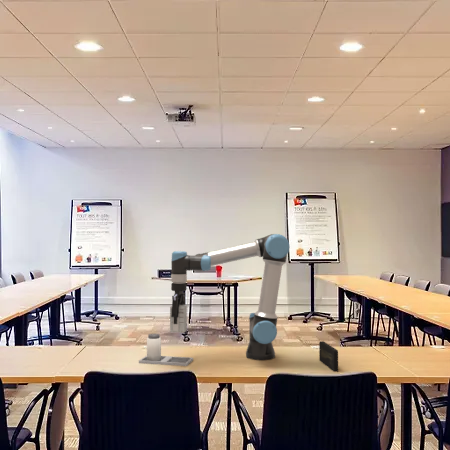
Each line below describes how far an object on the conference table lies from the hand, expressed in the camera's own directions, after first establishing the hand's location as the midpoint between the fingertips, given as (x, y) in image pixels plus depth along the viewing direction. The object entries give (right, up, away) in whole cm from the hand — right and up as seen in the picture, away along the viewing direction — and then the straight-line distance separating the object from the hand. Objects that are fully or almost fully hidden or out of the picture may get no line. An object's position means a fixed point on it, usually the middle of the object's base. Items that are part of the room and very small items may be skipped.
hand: (178, 328), depth 251 cm
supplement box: (0, -1, 0) cm, 1 cm away
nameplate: (+73, -18, -2) cm, 76 cm away
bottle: (-13, -16, +3) cm, 21 cm away
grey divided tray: (-6, -17, +1) cm, 19 cm away
